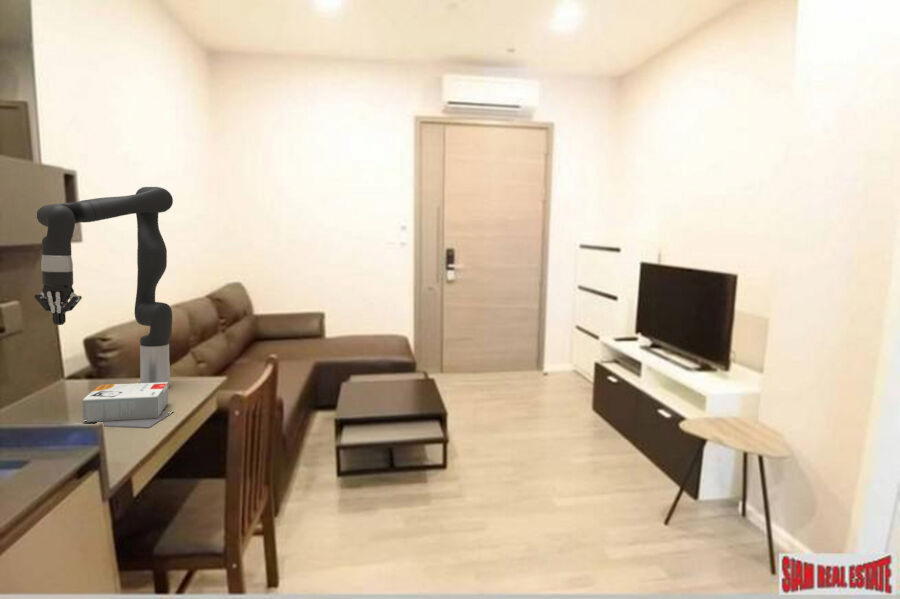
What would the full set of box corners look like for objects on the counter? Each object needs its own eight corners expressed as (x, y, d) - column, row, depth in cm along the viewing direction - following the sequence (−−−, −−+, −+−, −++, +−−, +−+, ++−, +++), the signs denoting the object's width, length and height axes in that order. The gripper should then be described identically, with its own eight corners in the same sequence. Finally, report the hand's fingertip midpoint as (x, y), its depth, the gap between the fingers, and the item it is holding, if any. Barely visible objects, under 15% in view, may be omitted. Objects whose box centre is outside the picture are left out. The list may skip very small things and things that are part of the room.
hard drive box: (99, 383, 155) (168, 381, 162) (99, 406, 156) (168, 402, 163) (81, 399, 140) (158, 395, 148) (82, 423, 141) (158, 419, 149)
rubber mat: (121, 409, 155) (121, 408, 155) (174, 412, 156) (174, 410, 156) (91, 425, 141) (91, 424, 141) (149, 428, 142) (149, 426, 142)
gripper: (88, 270, 150) (89, 323, 152) (44, 268, 149) (46, 321, 151) (71, 271, 143) (72, 327, 145) (24, 269, 142) (27, 325, 144)
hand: (59, 324), depth 148 cm, fingers closed
